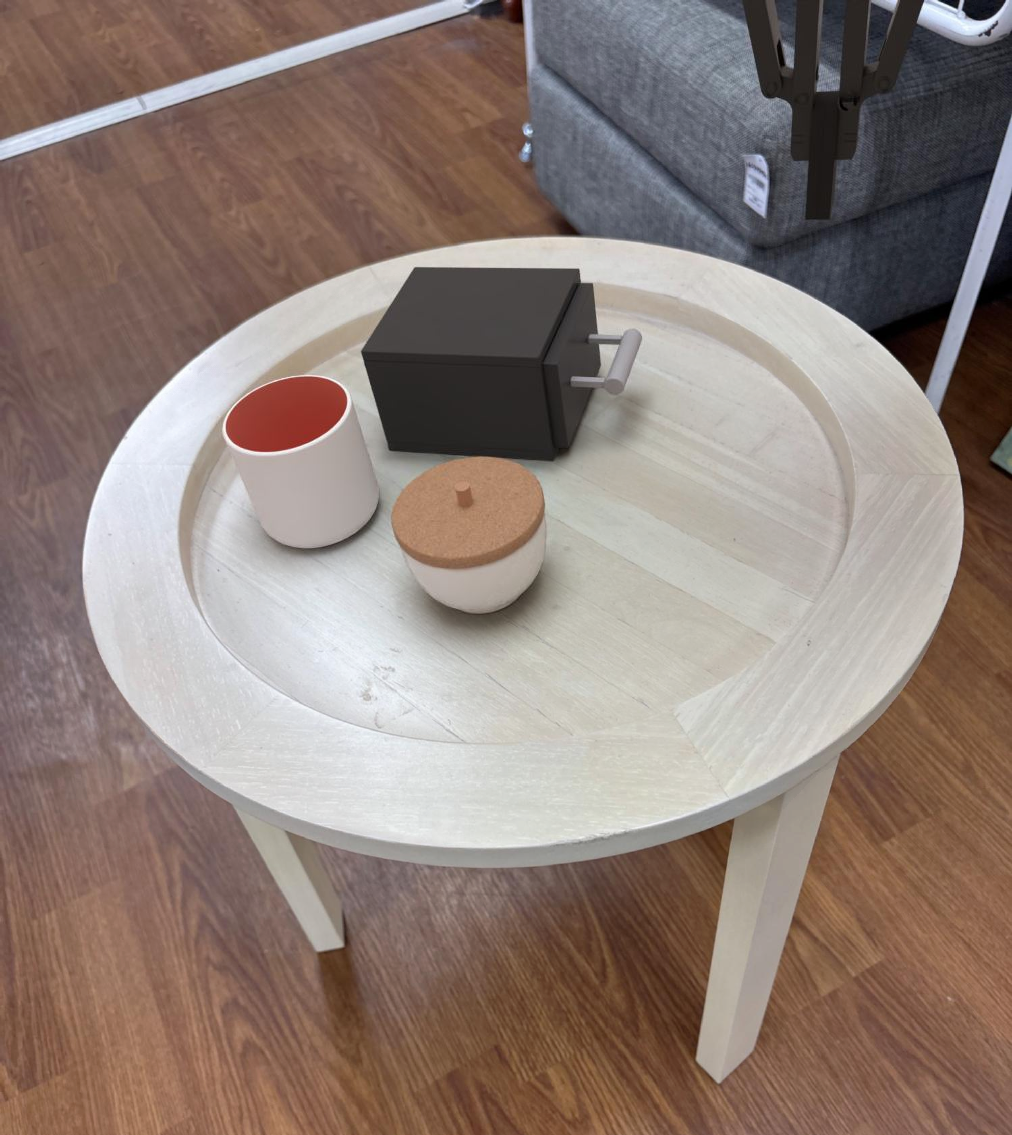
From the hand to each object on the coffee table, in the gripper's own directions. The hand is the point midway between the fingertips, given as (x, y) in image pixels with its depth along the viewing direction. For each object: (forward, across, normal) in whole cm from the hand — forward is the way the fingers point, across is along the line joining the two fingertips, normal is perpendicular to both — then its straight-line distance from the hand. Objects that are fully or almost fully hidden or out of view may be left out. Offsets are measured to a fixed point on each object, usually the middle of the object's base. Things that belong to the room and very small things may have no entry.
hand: (819, 208), depth 67 cm
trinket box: (+21, +21, +16) cm, 33 cm away
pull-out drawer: (+19, +23, -5) cm, 31 cm away
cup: (+21, +37, +10) cm, 44 cm away
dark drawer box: (+20, +27, -5) cm, 34 cm away
